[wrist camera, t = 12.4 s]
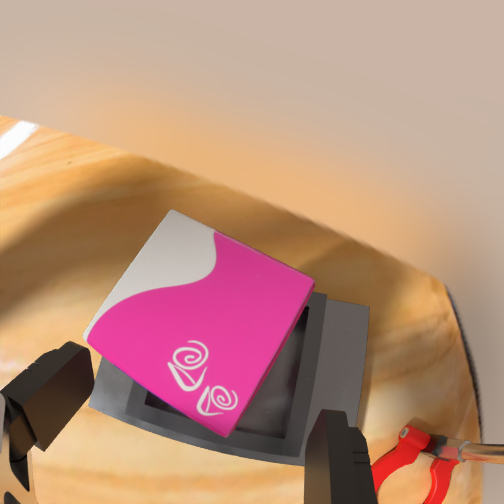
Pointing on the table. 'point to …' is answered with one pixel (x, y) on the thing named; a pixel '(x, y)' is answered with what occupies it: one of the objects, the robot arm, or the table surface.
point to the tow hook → (439, 449)
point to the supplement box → (200, 320)
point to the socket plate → (265, 389)
